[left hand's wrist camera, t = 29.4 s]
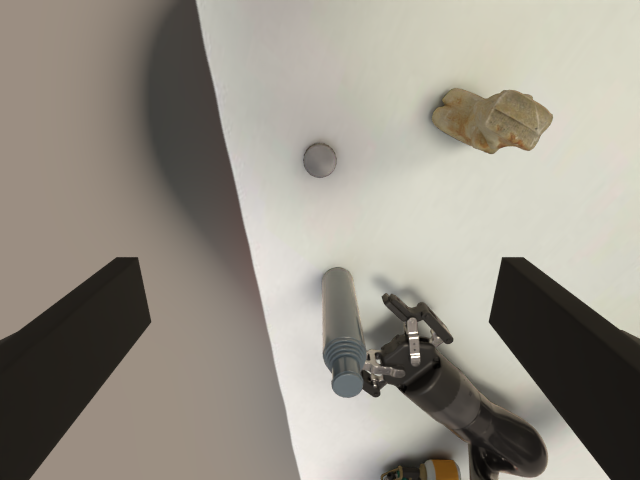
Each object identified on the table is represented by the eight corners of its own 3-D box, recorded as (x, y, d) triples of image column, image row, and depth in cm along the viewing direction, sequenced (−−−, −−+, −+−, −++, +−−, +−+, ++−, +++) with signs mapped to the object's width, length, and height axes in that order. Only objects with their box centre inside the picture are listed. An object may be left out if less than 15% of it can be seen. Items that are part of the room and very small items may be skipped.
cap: (299, 169, 44) (298, 171, 42) (309, 138, 43) (309, 139, 41) (329, 179, 45) (330, 182, 43) (340, 149, 43) (341, 150, 41)
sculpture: (452, 78, 40) (524, 64, 26) (499, 113, 41) (591, 118, 27) (421, 123, 42) (472, 133, 28) (467, 156, 43) (537, 180, 29)
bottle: (320, 269, 49) (320, 369, 31) (351, 265, 49) (370, 364, 30) (323, 296, 51) (326, 407, 32) (354, 293, 51) (374, 402, 32)
